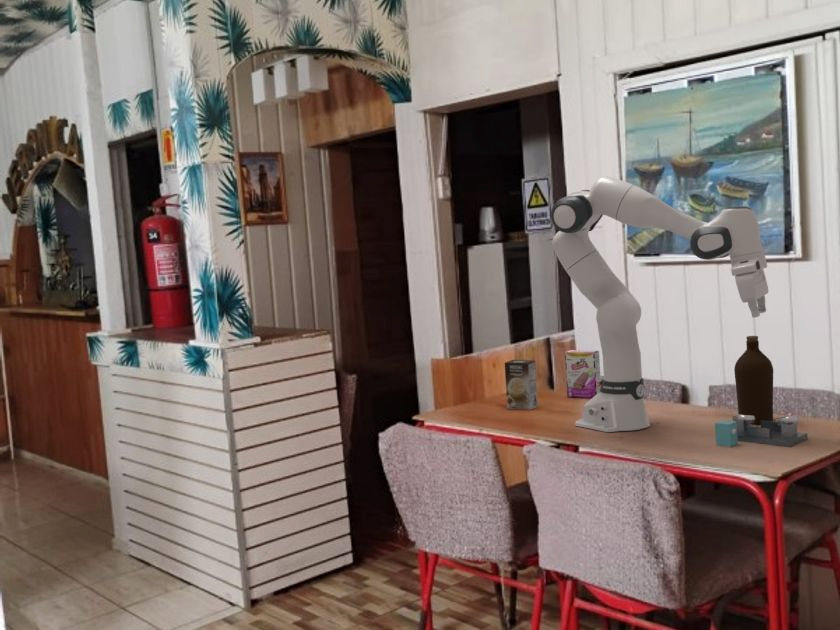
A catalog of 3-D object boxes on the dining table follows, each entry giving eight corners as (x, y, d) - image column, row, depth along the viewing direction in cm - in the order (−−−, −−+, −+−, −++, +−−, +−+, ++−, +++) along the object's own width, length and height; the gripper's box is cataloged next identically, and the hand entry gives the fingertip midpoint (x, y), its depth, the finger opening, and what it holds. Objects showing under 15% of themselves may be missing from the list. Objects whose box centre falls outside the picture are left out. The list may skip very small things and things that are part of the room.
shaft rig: (725, 439, 256) (724, 412, 255) (744, 431, 262) (742, 405, 262) (790, 446, 243) (789, 418, 242) (807, 438, 249) (806, 411, 249)
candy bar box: (566, 398, 331) (564, 351, 330) (572, 395, 336) (569, 349, 334) (597, 398, 326) (594, 352, 324) (602, 396, 330) (599, 349, 328)
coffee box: (506, 409, 320) (503, 362, 318) (514, 405, 325) (511, 359, 324) (530, 410, 315) (527, 362, 314) (538, 406, 320) (535, 359, 319)
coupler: (714, 445, 251) (713, 422, 250) (722, 441, 253) (721, 419, 253) (731, 447, 247) (730, 424, 246) (739, 444, 250) (738, 421, 249)
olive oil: (759, 427, 266) (756, 339, 264) (729, 422, 275) (725, 337, 273) (783, 420, 272) (779, 335, 270) (752, 416, 281) (748, 333, 279)
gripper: (744, 263, 264) (754, 311, 264) (729, 270, 246) (740, 321, 247) (768, 259, 261) (778, 308, 261) (754, 265, 243) (764, 317, 243)
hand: (759, 314), depth 254 cm, fingers open, 8 cm apart
